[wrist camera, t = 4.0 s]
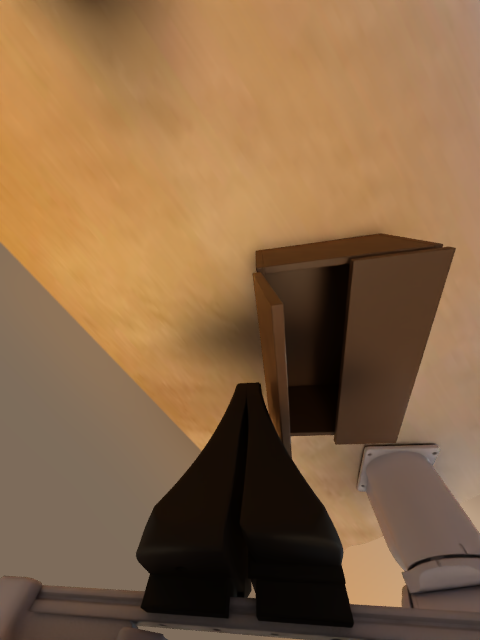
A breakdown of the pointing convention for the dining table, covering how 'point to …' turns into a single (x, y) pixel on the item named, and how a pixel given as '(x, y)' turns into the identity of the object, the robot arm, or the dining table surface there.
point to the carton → (355, 329)
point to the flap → (274, 356)
